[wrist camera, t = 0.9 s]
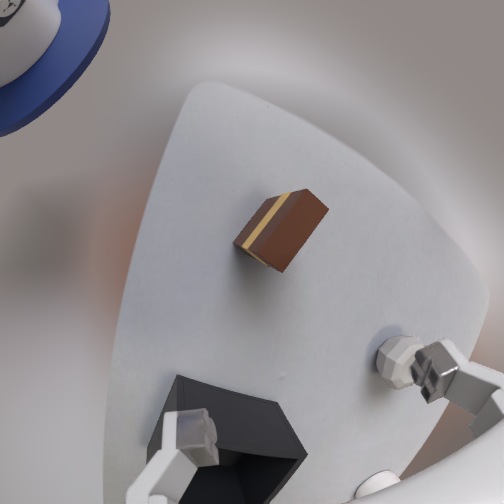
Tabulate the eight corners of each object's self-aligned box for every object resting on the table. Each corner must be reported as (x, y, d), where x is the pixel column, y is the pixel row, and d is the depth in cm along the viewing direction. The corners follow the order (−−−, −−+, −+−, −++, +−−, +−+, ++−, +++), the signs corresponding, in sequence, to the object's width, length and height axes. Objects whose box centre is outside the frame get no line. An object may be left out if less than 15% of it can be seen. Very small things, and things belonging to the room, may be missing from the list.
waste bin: (147, 447, 31) (143, 504, 21) (177, 374, 31) (177, 431, 21) (237, 467, 35) (253, 520, 24) (277, 402, 35) (308, 454, 24)
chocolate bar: (231, 242, 31) (256, 253, 21) (266, 198, 32) (306, 187, 21) (250, 256, 32) (282, 274, 21) (283, 212, 32) (330, 209, 22)
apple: (361, 341, 37) (389, 360, 30) (403, 317, 38) (434, 330, 32) (368, 384, 38) (393, 405, 31) (408, 359, 39) (435, 375, 33)
